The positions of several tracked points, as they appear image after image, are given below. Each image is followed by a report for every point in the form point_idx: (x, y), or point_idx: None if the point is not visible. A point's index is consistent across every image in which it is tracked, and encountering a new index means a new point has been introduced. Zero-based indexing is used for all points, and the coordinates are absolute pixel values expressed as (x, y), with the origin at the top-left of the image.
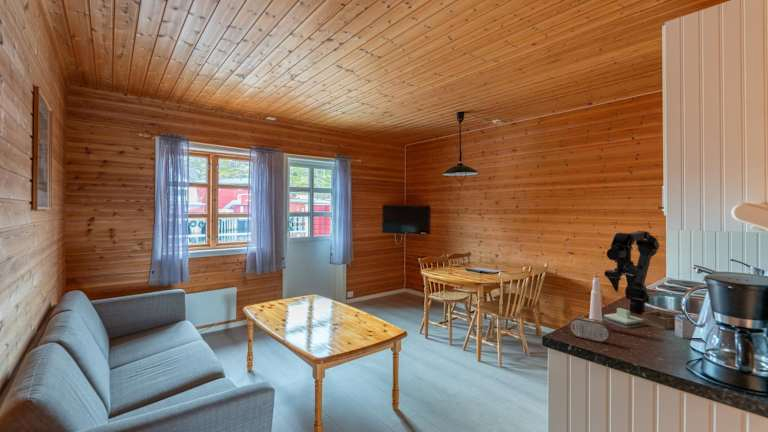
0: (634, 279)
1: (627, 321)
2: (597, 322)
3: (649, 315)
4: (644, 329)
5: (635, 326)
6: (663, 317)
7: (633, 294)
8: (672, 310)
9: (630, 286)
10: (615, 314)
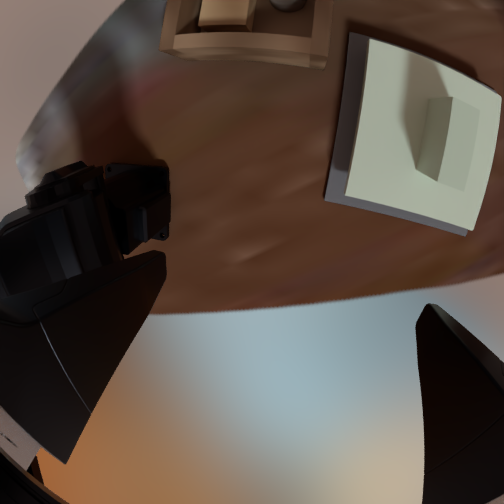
0: (19, 319)
1: (491, 93)
2: None
3: (331, 9)
4: (434, 24)
5: (443, 63)
6: (192, 11)
7: (112, 245)
8: (17, 160)
9: (142, 285)
10: (421, 193)
